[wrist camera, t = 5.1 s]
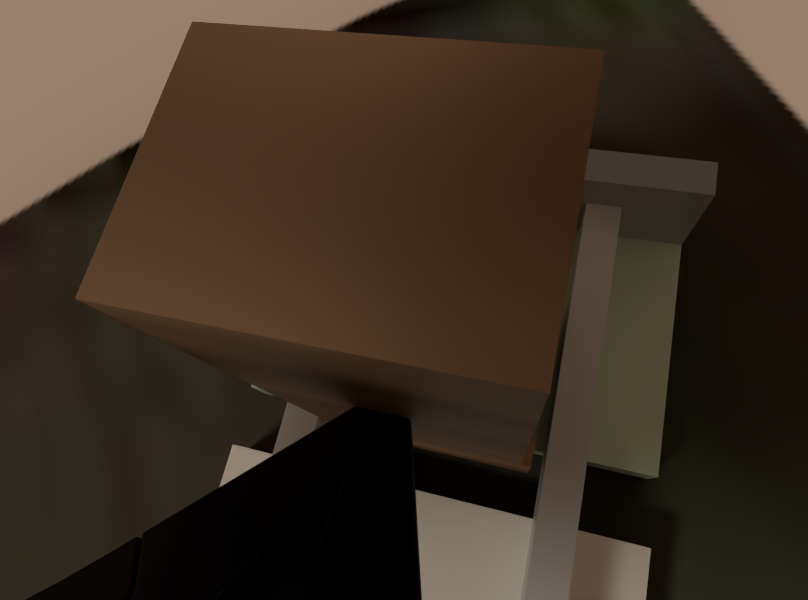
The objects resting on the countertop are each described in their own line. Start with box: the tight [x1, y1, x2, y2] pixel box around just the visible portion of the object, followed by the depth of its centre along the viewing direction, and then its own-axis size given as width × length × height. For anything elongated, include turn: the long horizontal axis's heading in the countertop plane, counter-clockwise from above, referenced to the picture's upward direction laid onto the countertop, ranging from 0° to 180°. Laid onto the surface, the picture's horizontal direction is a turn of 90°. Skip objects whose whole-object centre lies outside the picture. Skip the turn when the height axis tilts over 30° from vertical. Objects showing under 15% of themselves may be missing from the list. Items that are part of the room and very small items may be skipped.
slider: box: [75, 22, 605, 473], centre depth 10 cm, size 4×4×10 cm
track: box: [220, 149, 718, 600], centre depth 12 cm, size 20×10×4 cm, turn 166°
